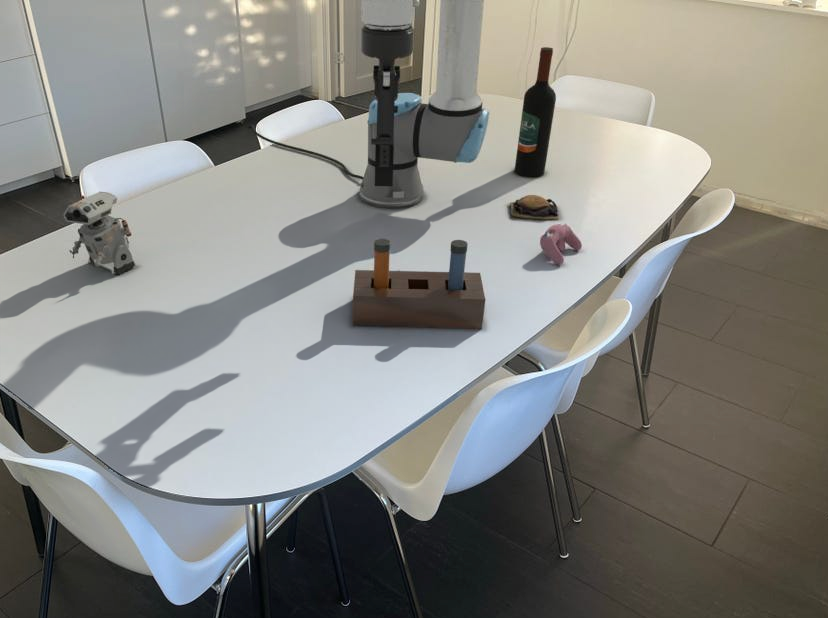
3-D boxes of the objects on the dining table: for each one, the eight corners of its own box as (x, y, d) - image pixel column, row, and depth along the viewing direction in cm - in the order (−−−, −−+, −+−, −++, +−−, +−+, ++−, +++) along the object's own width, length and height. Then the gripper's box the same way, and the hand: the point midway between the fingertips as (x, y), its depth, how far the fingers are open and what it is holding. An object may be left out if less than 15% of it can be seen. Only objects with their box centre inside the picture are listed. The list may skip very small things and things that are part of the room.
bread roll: (511, 219, 165) (513, 203, 163) (509, 203, 172) (511, 189, 170) (559, 221, 164) (562, 205, 162) (555, 205, 171) (558, 190, 169)
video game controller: (564, 251, 155) (555, 220, 153) (584, 248, 152) (575, 216, 150) (542, 268, 149) (533, 236, 147) (563, 265, 145) (553, 232, 143)
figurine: (65, 273, 144) (47, 202, 135) (113, 252, 151) (99, 183, 143) (94, 287, 139) (77, 214, 131) (142, 265, 147) (129, 194, 138)
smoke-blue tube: (441, 314, 131) (447, 243, 123) (451, 308, 133) (457, 238, 125) (454, 319, 130) (461, 248, 122) (463, 313, 131) (471, 243, 123)
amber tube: (369, 312, 132) (370, 242, 124) (379, 306, 133) (381, 236, 125) (381, 318, 130) (383, 247, 122) (391, 312, 132) (393, 241, 124)
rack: (355, 298, 136) (355, 269, 132) (476, 301, 135) (480, 272, 132) (352, 325, 128) (352, 296, 125) (481, 329, 127) (485, 299, 124)
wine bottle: (546, 177, 185) (566, 52, 168) (516, 177, 185) (533, 52, 168) (541, 167, 191) (559, 45, 174) (512, 166, 191) (527, 44, 174)
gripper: (416, 44, 94) (409, 200, 106) (412, 9, 114) (406, 143, 126) (358, 44, 94) (357, 199, 106) (364, 8, 115) (363, 142, 127)
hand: (384, 169), depth 116 cm, fingers open, 13 cm apart
